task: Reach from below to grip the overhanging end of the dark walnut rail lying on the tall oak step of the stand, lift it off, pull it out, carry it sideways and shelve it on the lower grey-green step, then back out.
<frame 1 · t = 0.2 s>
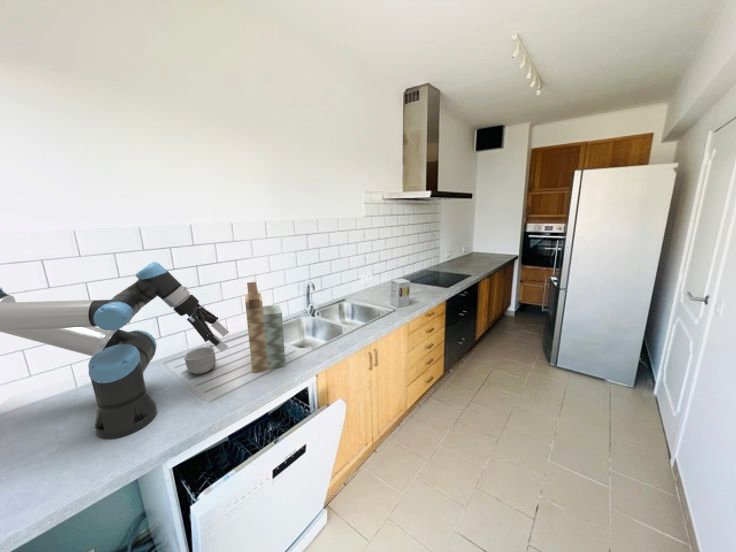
hand: (225, 341, 112), 16 cm above the worktop, tool tilted 35°, fingers open, 13 cm apart
supplement box: (399, 304, 199), on the worktop
teacup: (204, 368, 123), on the worktop
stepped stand: (267, 363, 126), on the worktop
rail: (253, 298, 116), point 30 cm above the worktop, touching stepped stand
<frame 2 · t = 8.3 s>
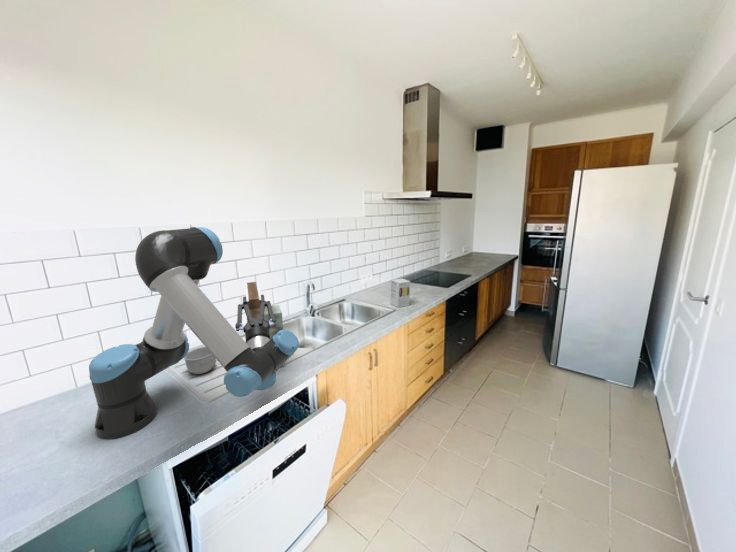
hand: (252, 290, 112), 34 cm above the worktop, tool pointing upward, fingers closed on rail, 3 cm apart
rail: (253, 298, 116), point 30 cm above the worktop, touching gripper
everything else where it was.
when the fingers open (29 cm above the worktop, at t = 14.1 s): rail stays where it is, resting on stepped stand.
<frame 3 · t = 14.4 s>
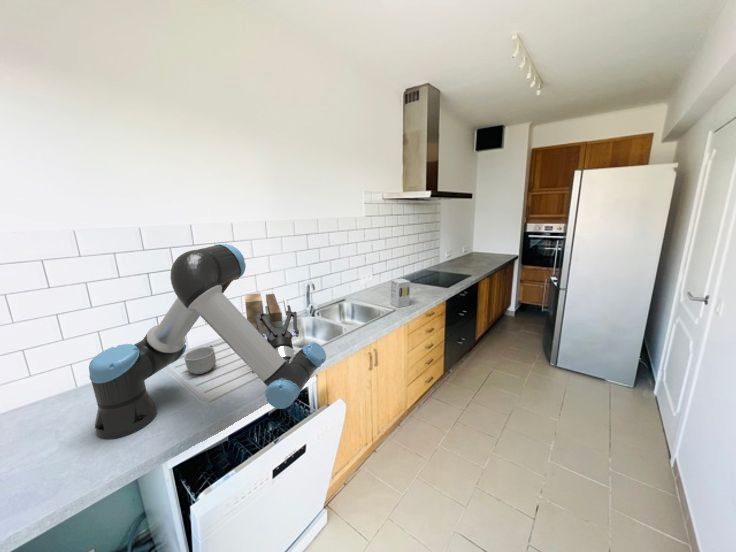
hand: (274, 301, 115), 29 cm above the worktop, tool pointing upward, fingers open, 7 cm apart
rail: (273, 310, 120), point 24 cm above the worktop, touching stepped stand
everything else where it was.
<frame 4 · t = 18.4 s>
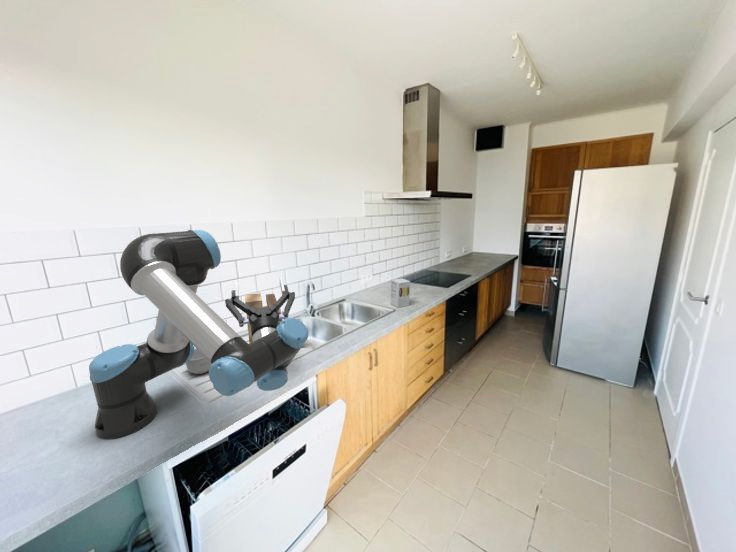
hand: (259, 281, 97), 42 cm above the worktop, tool pointing upward, fingers open, 13 cm apart
nothing on the worktop moved.
at the end: rail inside the target area (1.6 cm from its centre), point 24.0 cm above the worktop; the gripper is holding nothing; rail touching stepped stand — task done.
